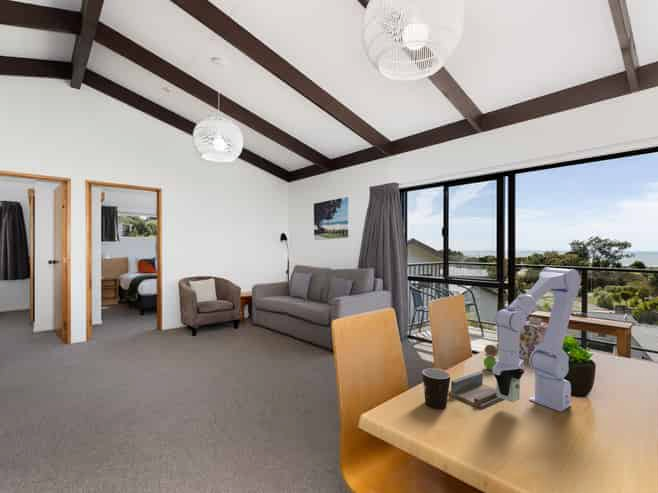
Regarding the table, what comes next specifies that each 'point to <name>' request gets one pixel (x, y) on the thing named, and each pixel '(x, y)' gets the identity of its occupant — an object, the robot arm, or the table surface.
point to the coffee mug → (436, 387)
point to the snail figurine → (490, 356)
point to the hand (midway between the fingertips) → (508, 392)
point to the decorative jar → (531, 337)
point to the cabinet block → (511, 391)
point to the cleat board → (474, 391)
